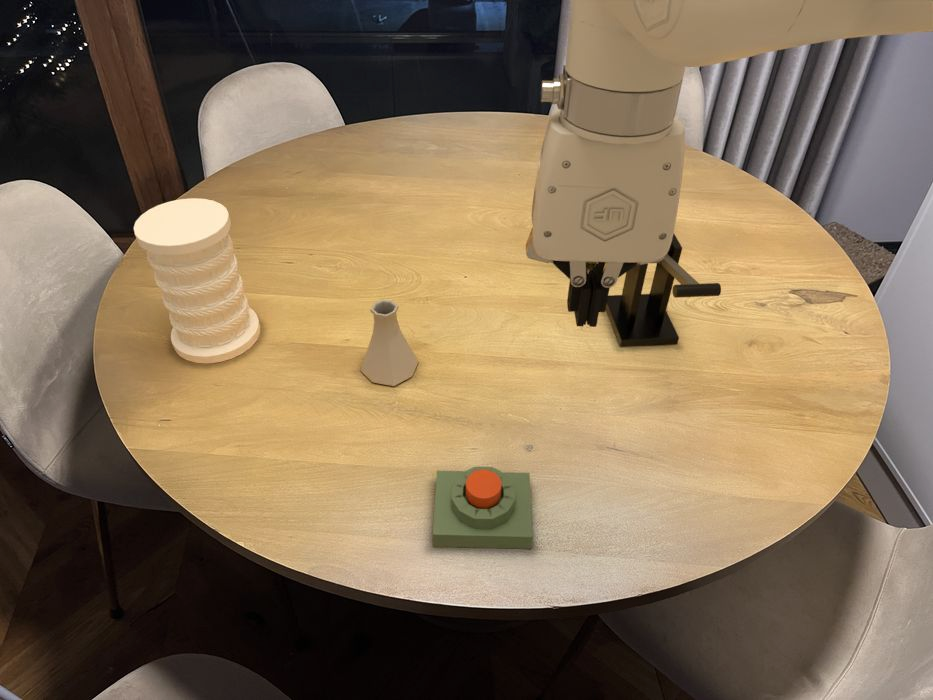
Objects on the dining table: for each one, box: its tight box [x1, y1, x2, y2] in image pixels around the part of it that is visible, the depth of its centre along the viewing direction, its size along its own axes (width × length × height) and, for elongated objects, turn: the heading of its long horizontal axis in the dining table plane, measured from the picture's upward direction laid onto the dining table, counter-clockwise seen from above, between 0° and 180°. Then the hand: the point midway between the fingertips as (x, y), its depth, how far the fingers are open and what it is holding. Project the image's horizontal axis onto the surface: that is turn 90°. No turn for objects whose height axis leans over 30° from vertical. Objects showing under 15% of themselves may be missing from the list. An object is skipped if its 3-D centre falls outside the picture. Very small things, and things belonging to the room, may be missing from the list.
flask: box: [359, 298, 420, 387], centre depth 85 cm, size 7×7×10 cm
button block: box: [432, 466, 534, 550], centre depth 70 cm, size 10×8×4 cm
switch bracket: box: [605, 233, 683, 347], centre depth 91 cm, size 10×8×14 cm
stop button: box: [466, 470, 502, 508], centre depth 69 cm, size 4×4×2 cm
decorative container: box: [133, 197, 261, 364], centre depth 87 cm, size 12×12×18 cm
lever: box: [652, 254, 722, 299], centre depth 82 cm, size 16×5×2 cm, turn 4°
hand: (584, 315), depth 57 cm, fingers closed
